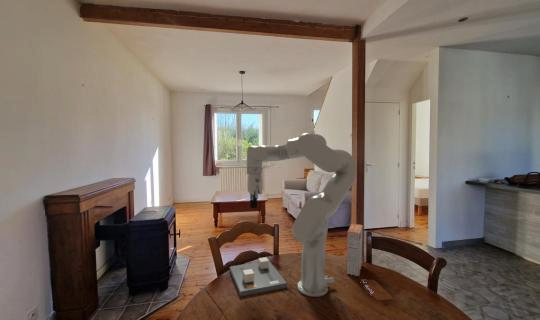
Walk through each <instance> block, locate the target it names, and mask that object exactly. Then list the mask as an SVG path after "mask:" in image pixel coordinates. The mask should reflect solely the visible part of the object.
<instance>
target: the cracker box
mask: <svg viewBox="0 0 540 320" xmlns="http://www.w3.org/2000/svg"><path fill="white" fill-rule="evenodd" d="M363 227H364V226H363V225H362V224H358V223H351V224H350V226H349V228H348V230H347V233H346V234H347V237H346V238H347V239H346V241H347V242H346V243H347V244H346V245H347V247H346V248H347V249H346V253H347V254H346V275H347V274H351V275H350V276H352V275H355V276H354V277H356V276H359V277H360V274H361V271H360V270H362V264H363V233H364V232H363V230H364V229H363Z"/></svg>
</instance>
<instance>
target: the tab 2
mask: <svg viewBox="0 0 540 320" xmlns="http://www.w3.org/2000/svg"><path fill="white" fill-rule="evenodd" d="M269 261H270V260H269V259H268V258H267V256H265V257H259V258H258V260H257V262H258V266H259V267H260V269H266V268H269Z"/></svg>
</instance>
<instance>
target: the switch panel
mask: <svg viewBox="0 0 540 320" xmlns="http://www.w3.org/2000/svg"><path fill="white" fill-rule="evenodd" d="M248 269H252V270H253V272H254V282H248V283H245V282H244V280H243V270H248ZM229 272H230V274H231V277H232V279H233V282H234V284H235V286H236V289H237V291H238V293H239V294H238V295H239V297H246V296H250V295H255V294H256V295H257V294H260V293H265V292H271V291H276V290H281V289H286V288H288V283H287V281H286V280H285V278H283V276H282V275H281V274H280V272H279V271H278V270H277V268H276V267H275V266H274V265H273V264H272V262H271V261H270V260H269V268H266V269H260V267H259V266H258V261H257V262H252V263H244V264H237V265H231V266H229Z"/></svg>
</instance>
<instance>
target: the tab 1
mask: <svg viewBox="0 0 540 320" xmlns="http://www.w3.org/2000/svg"><path fill="white" fill-rule="evenodd" d="M243 280H244V282H245V283H248V282H254V272H253V270H252V269H248V270H243Z"/></svg>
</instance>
